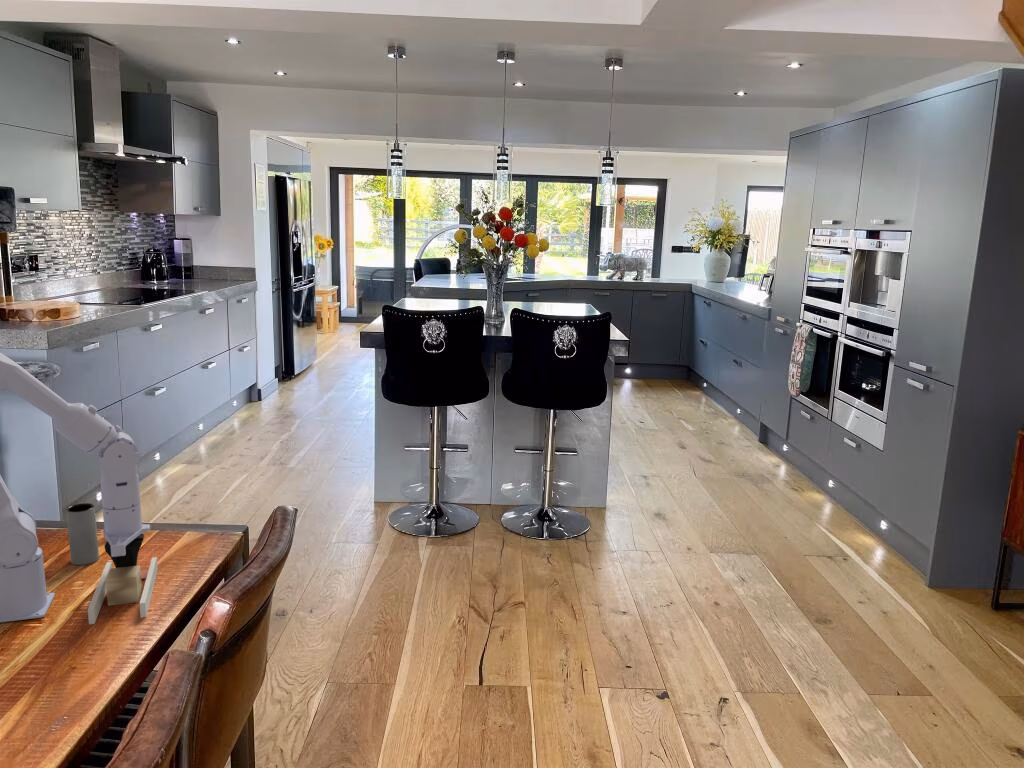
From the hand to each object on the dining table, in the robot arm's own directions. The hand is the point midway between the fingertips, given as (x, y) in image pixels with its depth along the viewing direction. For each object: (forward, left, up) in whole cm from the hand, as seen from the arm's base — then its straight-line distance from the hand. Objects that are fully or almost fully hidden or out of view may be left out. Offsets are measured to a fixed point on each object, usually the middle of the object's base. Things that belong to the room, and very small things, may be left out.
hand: (127, 579), depth 131 cm
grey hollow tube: (-9, +14, -2) cm, 17 cm away
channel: (0, -3, -2) cm, 3 cm away
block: (0, -4, -2) cm, 4 cm away
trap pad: (0, +4, -2) cm, 5 cm away
